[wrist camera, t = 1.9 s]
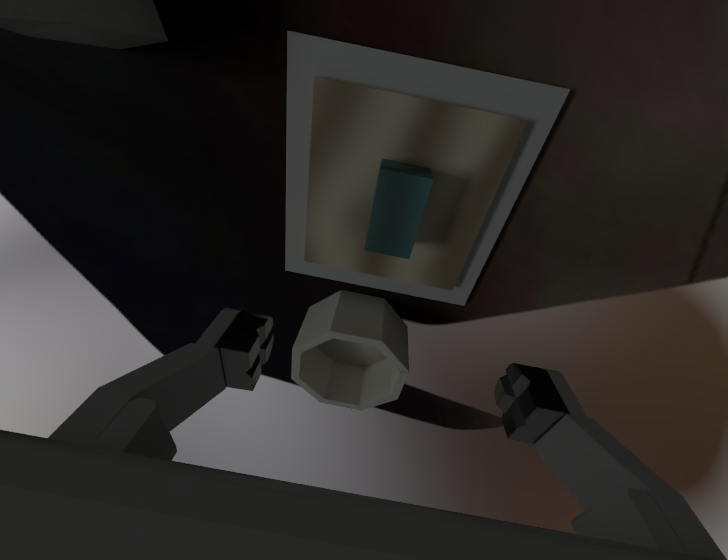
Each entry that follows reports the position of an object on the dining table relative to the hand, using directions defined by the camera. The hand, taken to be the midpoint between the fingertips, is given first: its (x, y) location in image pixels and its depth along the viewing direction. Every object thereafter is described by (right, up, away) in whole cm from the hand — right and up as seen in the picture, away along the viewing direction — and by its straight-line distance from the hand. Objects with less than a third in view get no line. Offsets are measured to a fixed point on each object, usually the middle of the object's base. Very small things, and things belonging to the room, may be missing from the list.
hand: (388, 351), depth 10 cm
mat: (+2, +9, +14) cm, 17 cm away
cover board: (+2, +9, +13) cm, 16 cm away
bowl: (-2, -3, +23) cm, 23 cm away
